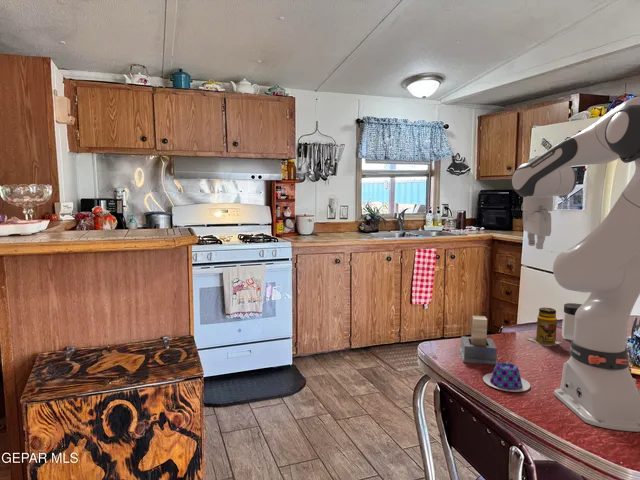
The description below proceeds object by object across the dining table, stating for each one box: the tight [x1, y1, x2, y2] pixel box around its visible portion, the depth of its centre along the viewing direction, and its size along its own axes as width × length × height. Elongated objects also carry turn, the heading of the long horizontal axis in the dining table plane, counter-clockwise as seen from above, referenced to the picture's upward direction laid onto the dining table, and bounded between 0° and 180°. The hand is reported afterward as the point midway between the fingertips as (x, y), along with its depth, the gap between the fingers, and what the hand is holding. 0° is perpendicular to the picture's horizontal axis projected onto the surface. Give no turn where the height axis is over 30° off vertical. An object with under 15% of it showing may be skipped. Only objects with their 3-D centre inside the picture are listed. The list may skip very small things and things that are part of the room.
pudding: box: [482, 362, 531, 393], centre depth 118 cm, size 12×12×5 cm
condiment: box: [526, 307, 561, 347], centre depth 151 cm, size 7×8×12 cm
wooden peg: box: [470, 315, 488, 346], centre depth 136 cm, size 4×4×12 cm
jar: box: [561, 302, 583, 342], centre depth 155 cm, size 9×8×12 cm
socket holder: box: [459, 336, 499, 366], centre depth 137 cm, size 10×10×5 cm
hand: (535, 247), depth 144 cm, fingers open, 8 cm apart
